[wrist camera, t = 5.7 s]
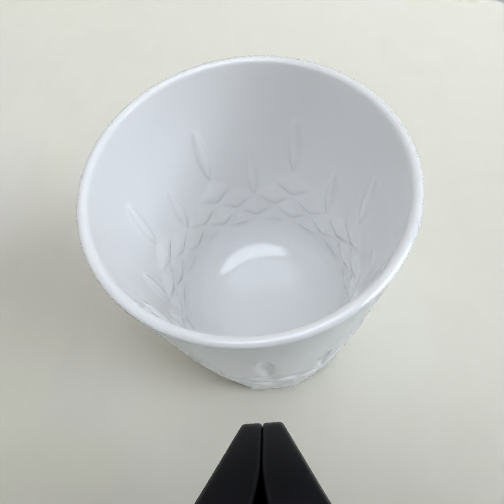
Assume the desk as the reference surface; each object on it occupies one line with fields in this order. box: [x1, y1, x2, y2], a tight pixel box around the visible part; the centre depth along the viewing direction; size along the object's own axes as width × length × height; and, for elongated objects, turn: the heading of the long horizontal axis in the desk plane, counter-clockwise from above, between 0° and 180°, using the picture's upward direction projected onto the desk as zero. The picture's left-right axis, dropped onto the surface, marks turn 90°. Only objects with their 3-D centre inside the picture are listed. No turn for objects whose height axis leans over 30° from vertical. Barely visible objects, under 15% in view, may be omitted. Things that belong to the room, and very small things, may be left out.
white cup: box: [76, 56, 424, 390], centre depth 14 cm, size 8×8×10 cm
